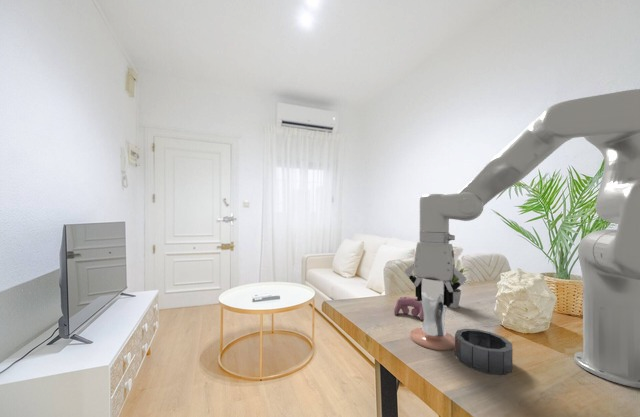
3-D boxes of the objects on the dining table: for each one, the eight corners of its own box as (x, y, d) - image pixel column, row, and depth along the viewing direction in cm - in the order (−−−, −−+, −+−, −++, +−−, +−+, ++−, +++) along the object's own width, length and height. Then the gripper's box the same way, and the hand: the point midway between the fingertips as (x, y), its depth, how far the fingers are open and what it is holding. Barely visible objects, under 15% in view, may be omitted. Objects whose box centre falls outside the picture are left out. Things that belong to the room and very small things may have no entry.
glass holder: (512, 358, 64) (512, 337, 64) (512, 381, 54) (512, 357, 54) (459, 343, 70) (459, 325, 70) (451, 362, 61) (451, 341, 61)
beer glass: (451, 339, 68) (450, 281, 69) (422, 336, 70) (422, 279, 70) (444, 328, 75) (443, 275, 76) (418, 325, 77) (418, 274, 77)
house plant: (483, 314, 92) (483, 267, 92) (444, 313, 92) (444, 266, 93) (462, 301, 106) (462, 260, 107) (428, 300, 106) (428, 260, 107)
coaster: (460, 337, 74) (460, 335, 74) (453, 355, 64) (453, 353, 64) (417, 326, 81) (417, 324, 81) (404, 341, 71) (404, 338, 71)
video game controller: (425, 322, 88) (427, 301, 91) (423, 320, 85) (424, 298, 88) (395, 316, 93) (398, 296, 96) (392, 313, 90) (395, 293, 93)
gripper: (471, 239, 71) (471, 305, 71) (407, 235, 81) (406, 293, 81) (467, 241, 65) (467, 314, 65) (398, 237, 75) (398, 299, 75)
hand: (433, 302), depth 73 cm, fingers closed on beer glass, 6 cm apart
